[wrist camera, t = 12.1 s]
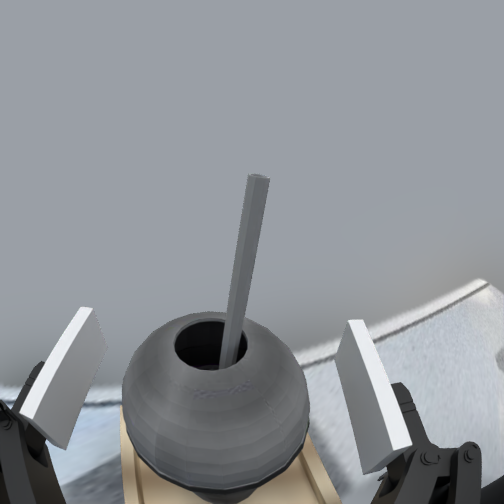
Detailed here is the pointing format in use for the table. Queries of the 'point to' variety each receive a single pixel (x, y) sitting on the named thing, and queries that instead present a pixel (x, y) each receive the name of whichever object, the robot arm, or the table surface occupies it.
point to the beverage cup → (218, 389)
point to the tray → (261, 500)
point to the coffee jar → (493, 492)
